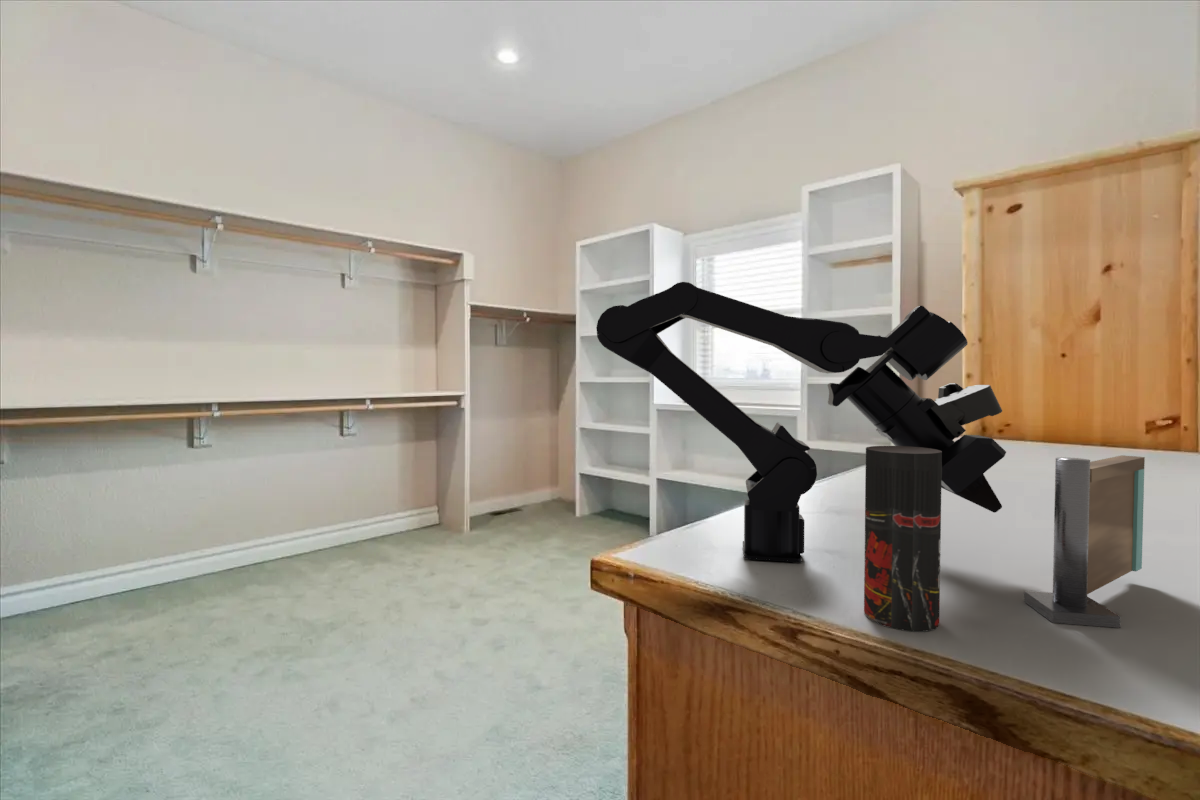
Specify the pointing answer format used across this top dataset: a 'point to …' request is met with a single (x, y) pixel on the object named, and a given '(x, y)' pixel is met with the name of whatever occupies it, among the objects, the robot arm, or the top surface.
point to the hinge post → (1071, 553)
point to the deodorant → (903, 537)
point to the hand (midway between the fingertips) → (997, 509)
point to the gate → (1115, 519)
